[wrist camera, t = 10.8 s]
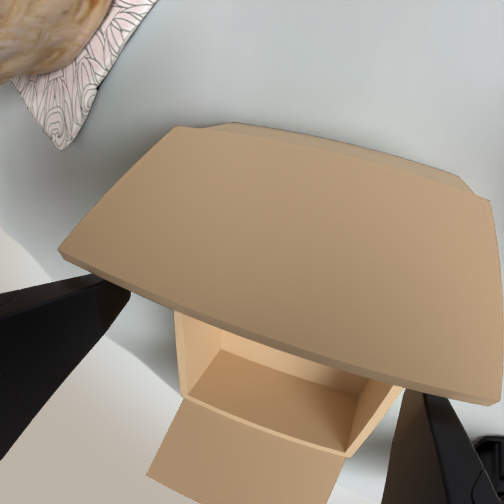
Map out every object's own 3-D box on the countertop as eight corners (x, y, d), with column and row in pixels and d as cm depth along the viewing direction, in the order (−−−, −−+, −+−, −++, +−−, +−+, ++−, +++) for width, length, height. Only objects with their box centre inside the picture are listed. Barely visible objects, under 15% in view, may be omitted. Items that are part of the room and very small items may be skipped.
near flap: (178, 135, 13) (176, 125, 12) (484, 210, 9) (489, 200, 9) (64, 259, 9) (56, 249, 8) (488, 406, 5) (500, 400, 5)
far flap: (346, 457, 18) (344, 457, 19) (184, 397, 22) (186, 398, 22) (307, 541, 15) (306, 539, 15) (145, 475, 18) (148, 474, 19)
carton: (364, 396, 23) (350, 458, 18) (217, 346, 27) (180, 395, 22) (458, 176, 14) (490, 212, 9) (233, 122, 18) (172, 135, 13)
